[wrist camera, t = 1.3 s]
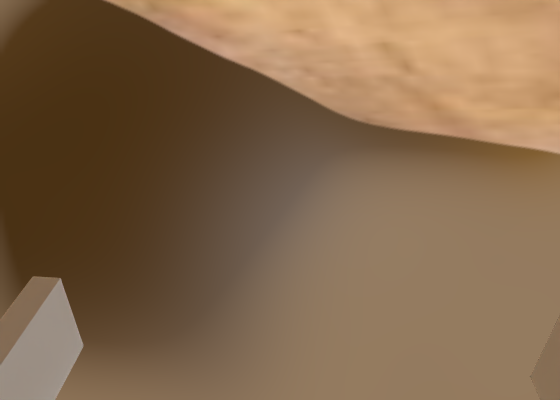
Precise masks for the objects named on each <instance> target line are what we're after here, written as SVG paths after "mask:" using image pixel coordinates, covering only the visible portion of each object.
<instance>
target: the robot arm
mask: <svg viewBox="0 0 560 400" xmlns="http://www.w3.org/2000/svg"><path fill="white" fill-rule="evenodd" d="M82 348H83V344H82V340H81V338H80V335H79V332H78V329H77V326H76V323H75V320H74V317H73V314H72V311H71V308H70V305H69V302H68V299H67V296H66V293H65V291H64V287H63V285H62V281H61V278H49V277H32V279H31V280H30V281H29V283H28V284H27V285H26V286H25V288H24V289H23V291H22V292H21V293H20V295H19V296H18V297H17V298H16V300H15V301H14V302H13V304H12V305H11V306H10V307H9V309H8V310H7V311H6V313H5V314H4V315H3V317H2V318H1V320H0V400H55V398H56V397H57V395H58V393H59V391H60V389H61V387H62V385H63V383H64V381H65V379H66V378H67V376H68V374H69V372H70V370H71V368H72V366H73V365H74V363H75V361H76V359H77V357H78V355H79V353H80V351H81V349H82ZM530 377H531V380H532V382H533V384H534V386H535V389H536V391H537V393H538V396H539V398H540V400H560V316H559V318H558V320H557V322H556V324H555V326H554V328H553V330H552V332H551V334H550V336H549V338H548V341H547V343H546V345H545V347H544V349H543V351H542V353H541V355H540V357H539V359H538V361H537V363H536V365H535V368H534V370H533V372H532V374H531V376H530Z"/></svg>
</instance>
